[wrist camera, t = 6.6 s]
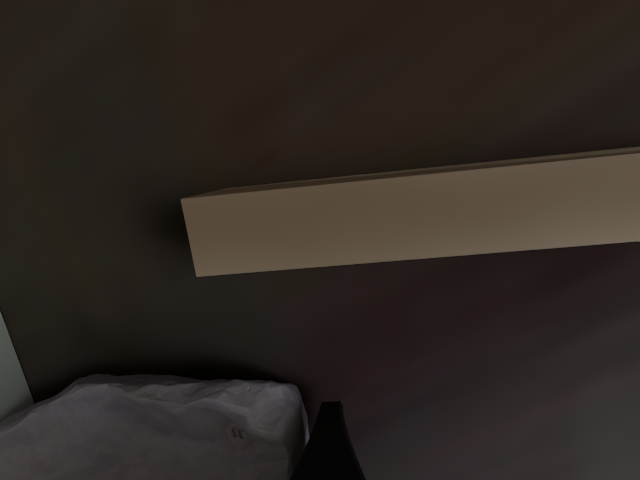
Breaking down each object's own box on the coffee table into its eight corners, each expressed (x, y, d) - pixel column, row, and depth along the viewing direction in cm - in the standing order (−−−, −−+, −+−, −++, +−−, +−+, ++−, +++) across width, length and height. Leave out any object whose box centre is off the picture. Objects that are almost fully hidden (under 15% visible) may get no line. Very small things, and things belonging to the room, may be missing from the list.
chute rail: (666, 208, 10) (801, 228, 7) (233, 246, 11) (196, 276, 8) (676, 142, 10) (825, 134, 7) (223, 188, 11) (180, 199, 8)
